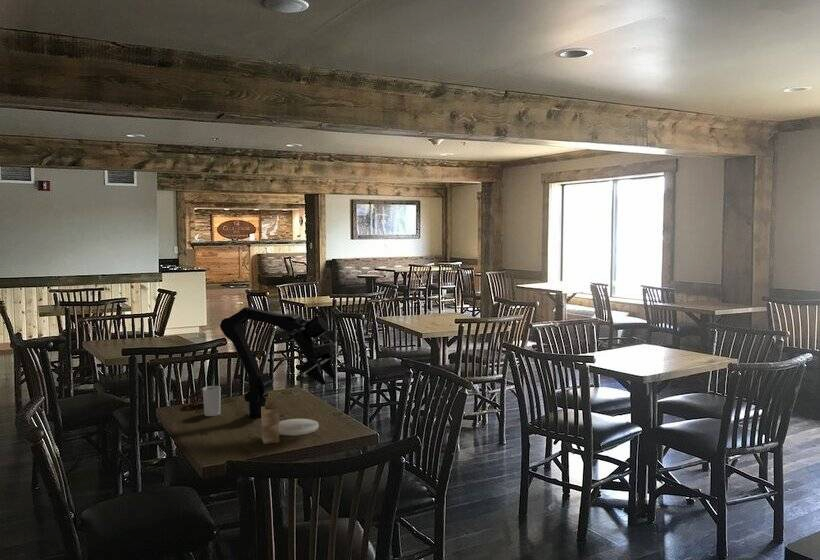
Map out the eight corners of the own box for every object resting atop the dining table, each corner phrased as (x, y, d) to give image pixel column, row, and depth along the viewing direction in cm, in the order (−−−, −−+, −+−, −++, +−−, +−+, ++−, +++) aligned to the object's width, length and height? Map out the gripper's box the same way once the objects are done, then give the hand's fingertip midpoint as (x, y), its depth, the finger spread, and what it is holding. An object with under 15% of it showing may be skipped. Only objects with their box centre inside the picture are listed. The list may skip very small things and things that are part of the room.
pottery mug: (206, 411, 249) (195, 393, 249) (192, 418, 254) (181, 400, 253) (226, 396, 260) (215, 378, 259) (212, 403, 264) (201, 386, 264)
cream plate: (278, 438, 215) (278, 434, 215) (268, 425, 229) (268, 421, 229) (324, 431, 222) (324, 428, 222) (311, 419, 236) (311, 416, 236)
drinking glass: (223, 411, 247) (222, 385, 246) (219, 416, 240) (218, 390, 239) (206, 411, 247) (205, 386, 246) (201, 416, 240) (200, 390, 239)
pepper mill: (263, 443, 209) (263, 404, 208) (261, 439, 214) (260, 401, 213) (279, 442, 211) (278, 403, 210) (276, 437, 216) (276, 399, 215)
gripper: (313, 337, 223) (337, 375, 222) (333, 329, 241) (355, 364, 240) (289, 354, 226) (312, 391, 224) (310, 345, 244) (332, 379, 242)
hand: (329, 381), depth 233 cm, fingers open, 9 cm apart
